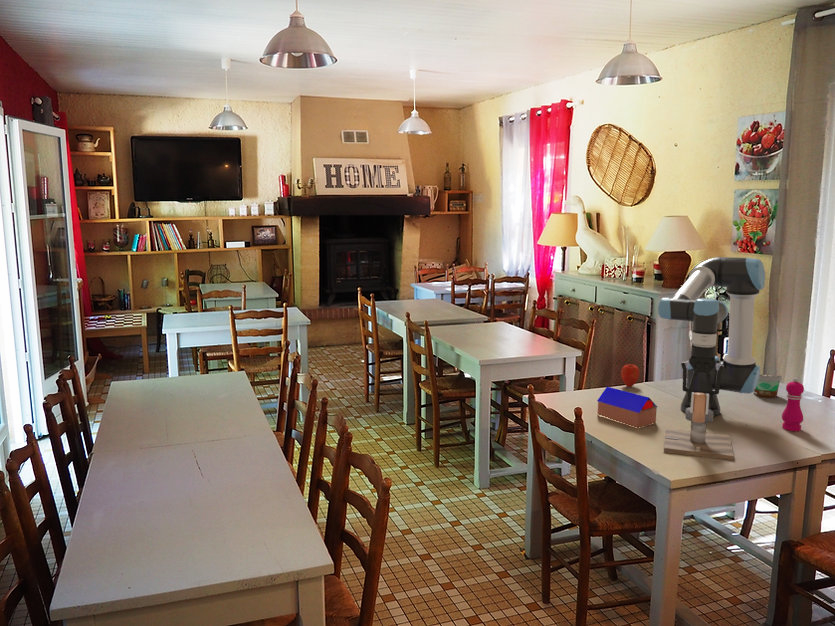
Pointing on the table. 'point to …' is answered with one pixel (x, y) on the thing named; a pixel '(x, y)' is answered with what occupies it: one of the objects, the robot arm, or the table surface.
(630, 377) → the apple
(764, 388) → the food container
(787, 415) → the pepper mill
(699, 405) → the crank handle
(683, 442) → the post base
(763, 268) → the robot arm
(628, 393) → the house
